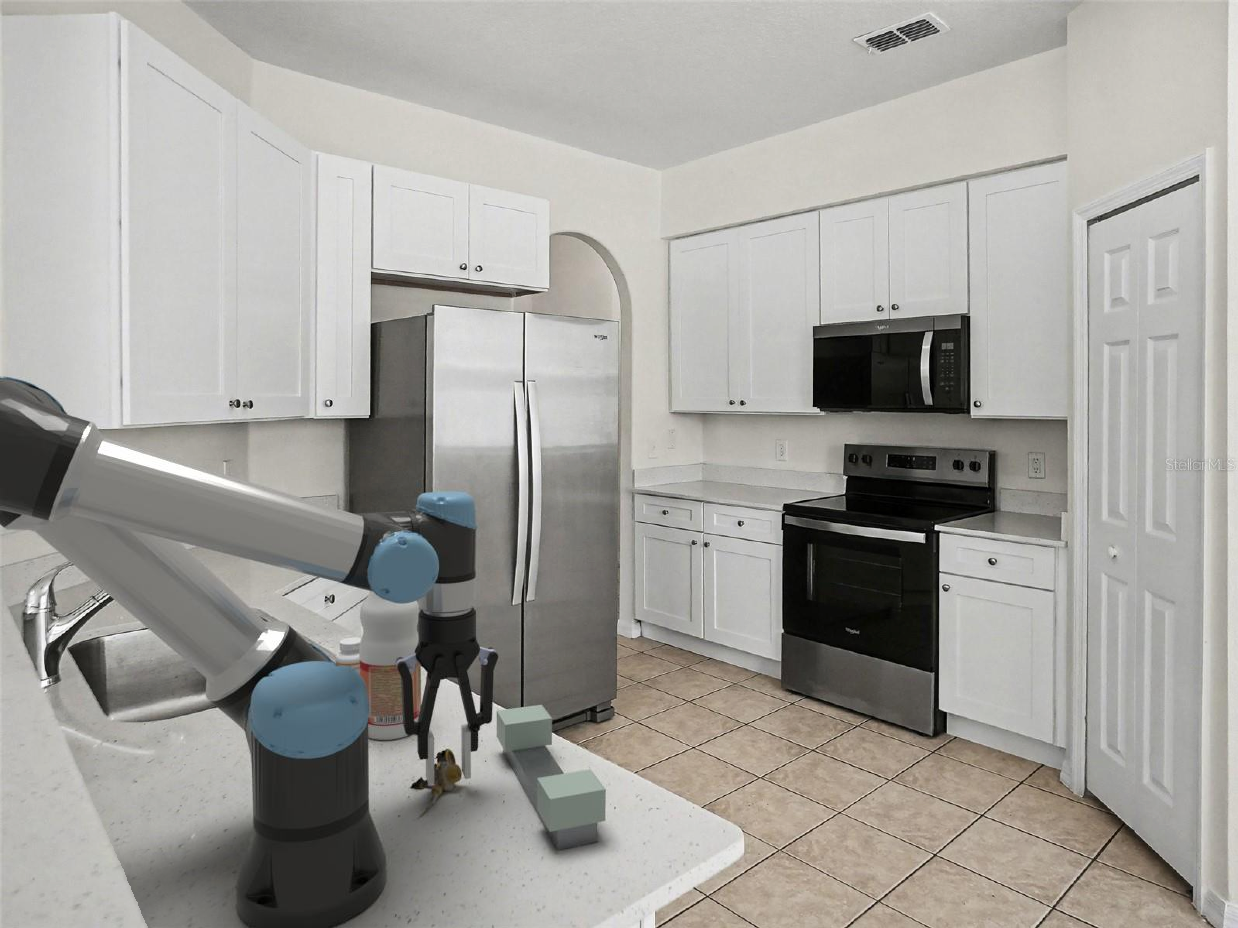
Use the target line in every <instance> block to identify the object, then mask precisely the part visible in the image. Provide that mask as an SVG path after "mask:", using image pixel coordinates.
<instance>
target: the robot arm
mask: <svg viewBox="0 0 1238 928" xmlns="http://www.w3.org/2000/svg"><path fill="white" fill-rule="evenodd" d="M475 504H476V503H475V499H474V498H473V496H472V495H471V494H469V493H467V492H463V491H452V490H451V491H450V490H447V491H446V490H441V491H440V490H439V491H438V490H436V491H431V492H424V493H421V494H420V495H418V497H417V501H416V505H415V509H414V508H413V509H409V510H403V511H402V510H401V511H386V512H363V513H361V512H360V513H352V512H348V511H346V510H344V509H343V510H342V509H339V508H336V507H332V506H329V505H327V504H323V503H320V502H317V501H313V500H310V499H306V498H304V497H300V496H297V495H293V494H289V493H287V492H284V491H280V490H276V489H274V488H270V487H267V486H264V485H260V484H257V483H254V482H250V481H248V480H244V479H241V478H237V477H234V476H231V475H228V474H225V473H221V472H218V471H215V470H212V469H208V468H205V467H202V466H198V465H195V464H191V463H188V462H185V461H182V460H179V459H175V458H173V457H169V456H165V455H162V454H160V453H159V454H158V453H156V452H152V451H149V450H146V449H143V448H140V447H136V446H133V445H129V444H127V443H124V442H120V441H117V440H113V439H110V438H108V437H107V438H106V437H105V436H103V435H102V432H100V430H99V428H98V426H97V425H96V423H94V422H92V421H89V420H85V419H83V418H79V417H76V416H73V415H70V414H68V412H67V411H65V409H64V407H63V405H62V404H61V402H60V401H59V400H58V399H57V398H56V397H55V396H53V395H52V394H51V393H50V392H49V391H47V390H45V389H43V388H40V387H38V386H37V385H36V384H34V383H31V382H28V381H25V380H23V379H19V378H14V377H9V376H2V375H1V376H0V526H1V527H3V528H4V529H5V530H7V531H9V530H11V531H22V530H23V531H31V532H35V534H37V535H38V536H39V537H41V538H42V539H43V540H44V541H45V542H46V543H47V544H49V546H51V547H52V548H53V549H55V550H56V551H57V552H58V553H59V554H61V556H62V557H64V558H65V559H67V561H68V562H70V563H71V564H72V565H73V566H75V567H76V568H77V569H78V570H79V571H81V573H83V574H84V575H85V576H86V577H87V578H89V580H91V581H92V582H93V583H94V584H95V585H96V586H98V587H99V588H100V589H101V590H103V591H104V592H105V593H106V594H107V595H108V596H110V597H111V598H112V599H113V600H114V601H115V602H116V603H118V604H119V605H120V606H121V607H122V608H124V610H125V611H127V612H129V614H131V616H133V617H134V618H135V619H136V620H138V621H139V622H140V623H141V624H142V625H143V626H145V627H146V628H147V629H148V630H149V631H151V632H152V633H153V634H154V635H155V636H156V637H157V638H158V639H160V640H161V641H162V642H163V643H164V644H166V645H167V646H168V647H170V648H171V649H172V650H173V651H174V652H175V653H176V654H177V655H179V656H180V657H181V658H182V659H184V661H186V662H187V663H188V664H189V665H190V666H192V667H193V669H195V670H196V671H197V672H199V674H201V675H202V676H204V678H205V680H206V681H205V698H206V699H207V700H208V701H210V703H212V704H213V706H215V707H216V708H217V709H219V710H220V711H221V712H222V713H224V714H225V715H226V716H227V717H228V718H230V720H232V721H233V722H234V723H235V724H237V725H238V727H240V728H241V729H242V730H243V731H244V733H245V738H246V741H247V746H248V750H249V753H250V762H251V777H252V778H251V779H252V780H251V785H252V813H253V814H252V819H253V820H252V823H253V825H252V827H253V829H252V830H253V831H252V834H251V837H250V840H249V843H248V846H247V849H246V852H245V855H244V859H243V862H242V865H241V867H240V872H239V874H238V877H237V881H236V886H235V887H236V891H235V892H236V911H237V914H238V915H239V917H240V919H241V920H242V921H243V922H244V923H245V924H246V925H247V926H249V927H251V926H252V927H251V928H253V927H255V928H331V927H334V926H336V925H339V924H341V923H344V922H345V921H347V920H350V919H352V918H353V917H355V916H357V915H358V914H360V913H361V912H364V910H365V909H367V908H368V907H369V906H371V905H372V904H373V903H374V902H375V901H376V899H378V897H379V896H380V895H381V894H382V892H383V890H384V888H385V885H386V882H387V855H386V853H385V849H384V845H383V844H382V842H381V838H380V836H379V834H378V831H377V829H376V828H377V827H376V826H375V825H376V824H375V823H374V820H373V817H372V814H371V813H370V798H369V797H370V787H369V785H370V781H369V778H370V776H369V775H370V773H369V772H370V770H369V766H370V765H369V764H370V763H369V737H368V718H369V714H370V708H369V707H370V705H369V699H368V696H367V688H366V684H365V682H364V680H363V678H362V677H361V676H360V674H359V673H358V672H356V671H355V670H353V669H352V668H350V667H348V666H345V665H342V666H338V665H337V663H336V662H334V661H333V660H332V659H331V658H330V656H329V655H328V654H327V653H326V652H325V651H324V650H322V649H321V648H320V647H317V646H316V645H314V644H313V643H309V642H308V641H307V640H306V639H305V638H304V637H302V636H301V635H300V634H299V633H298V632H297V631H296V630H295V629H294V628H293V627H292V626H291V625H289V623H287V622H286V621H284V620H277V621H266V620H264V619H263V618H262V617H261V616H260V615H258V613H256V612H255V611H254V609H252V608H251V607H250V606H249V605H248V604H247V603H246V602H245V601H244V600H242V598H240V597H239V596H238V594H236V593H235V592H234V591H233V590H231V589H230V587H229V586H227V584H225V583H224V582H223V581H222V580H221V579H220V578H219V577H217V576H216V575H215V573H213V572H212V571H211V570H210V569H209V567H207V566H206V565H205V564H204V563H202V561H201V560H199V559H198V558H197V557H196V556H195V555H194V554H193V553H192V552H191V551H190V550H189V549H188V548H186V547H185V546H184V545H183V544H186V545H191V546H195V547H199V548H202V549H206V550H209V551H213V552H218V553H221V554H226V555H229V556H233V557H238V558H241V559H245V560H250V561H254V562H258V563H261V564H266V565H269V566H273V567H278V568H281V569H286V570H290V571H294V572H297V573H302V574H306V575H308V576H309V575H310V576H313V577H317V578H322V579H326V580H329V581H333V582H337V583H339V584H343V585H346V586H349V587H353V588H357V589H361V590H365V591H369V592H370V591H372V592H374V593H375V594H376V595H378V596H379V597H380V598H382V599H385V600H388V601H390V602H393V603H399V604H405V603H411V602H414V601H416V600H417V602H418V607H419V611H420V612H419V613H418V623H417V626H418V629H417V632H418V645H417V647H416V649H415V653H414V654H412V655H410V656H408V657H406V658H403V657H399V658H397V659H396V665H397V668H398V671H399V673H400V675H401V690H402V713H403V726H404V730H405V733H406V734H407V735H408V736H411V735H414V736H417V739H416V741H417V749H416V750H417V751H416V752H417V755H418V758H419V760H420V761H422V760H425V779H426V780H427V782H428V785H427V786H432V785H433V786H434V764H435V736H434V733H433V730H432V728H430V727H431V723H432V717H433V713H434V709H435V704H436V699H437V694H438V691H439V688H440V685H441V684H440V683H441V681H442V680H445V679H448V678H450V679H451V678H452V679H457V683H458V689H459V692H460V696H461V701H462V705H463V709H464V713H465V718H466V722H467V723H465V724H463V723H462V724H460V725H461V735H460V736H461V772H462V775H463V778H464V779H465V780H467V779H469V780H470V779H471V778H472V769H471V768H472V762H471V761H472V758H471V757H472V754H471V753H472V752H477V751H478V749H479V731H480V730H481V726H483V725H487V724H489V725H490V723H491V722H492V721H493V704H494V703H493V701H494V672H495V667H496V665H497V662H498V659H499V654H498V653H497V651H496V650H495V648H493V647H490V646H489V647H488V648H486V647H483V646H480V644H479V643H478V640H477V611H476V609H475V608H474V607H475V606H476V605H477V576H476V575H477V573H476V572H477V570H476V559H477V558H476V557H477V555H476V554H477V530H478V526H477V514H476V513H477V511H476V505H475ZM182 543H183V544H182ZM477 657H478V661H479V663H480V686H479V687H480V689H479V690H480V691H479V693H480V694H479V695H480V696H479V712H477V711H476V705H475V702H474V697H473V692H472V688H471V684H470V683H471V682H470V679H469V674H468V670H469V669H470V667H471V666H472V664H473V663H474V661H475V660H476V659H477ZM417 662H419V663H420V664H421V668H423V669H424V670H425V672H426V675H425V676H426V678H425V679H426V680H425V684H424V685H425V686H424V690H423V696H422V698H421V709H420V713H419V718H418V722H414V705H413V682H412V676H411V674H412V673H413V672H414V671H415V664H416V663H417Z"/></svg>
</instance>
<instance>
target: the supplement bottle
mask: <svg viewBox="0 0 1238 928" xmlns="http://www.w3.org/2000/svg"><path fill="white" fill-rule="evenodd" d="M361 638H362V637H356V636H355V637H347V638H342V639H341V640H340V641H339V652H338V653H337V654H336V656H335V663H337V665H338V666H342V665H345V666H348V667H350V668H352V669H353V670H355V671H356V672H358V673H359V674H360V659H359V652H360V641H361Z"/></svg>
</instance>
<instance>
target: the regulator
mask: <svg viewBox="0 0 1238 928" xmlns="http://www.w3.org/2000/svg"><path fill="white" fill-rule="evenodd" d="M434 760H436V763H434V784H433V786H432V787H431V795H432V797H431V799H430V801H429V804H428V805H427V807H426V809H425V810H424V811H423V812H422V813H421V814H420V816H419V817H417V818H416V820H418V819H420V818H422V817H423V816H424V815H426V813H428V812H429V811H430V809H431V806H433V805H434V804H435V802H436V801H437V798H438V797H439V796H440V795H441V794H442V792H443V791H446V792H450V791H452V790H453V789H454V787H455V784H456V783H458V782H460V780H461V779H462V775H463V772H462V767H460V765H458V764H457V761H456V757H455V754H454V753H453V750H451V749H449V748H446V749H444V750H441V751H439V752H437V753H436V756H435V757H434ZM426 786H429V785H428V782H427V779H426V780H424V778H423V777H422V776H420V777H419V778H418V779H417V780H416V781H415V782H413V783H412V784H411V786H410V788H419V789H420V790H423V789H424V788H425V787H426Z"/></svg>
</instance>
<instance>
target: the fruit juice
mask: <svg viewBox="0 0 1238 928" xmlns="http://www.w3.org/2000/svg"><path fill="white" fill-rule="evenodd" d="M362 602H363V603H362V604H361V606H360V609H359V610H360V611H359V618H360V619H359V621H360V623H361V627H362V630H363V631H362V633H363V634H362V635H361V637H360V638H361V641H360V652H359V659H360V676H361V677H362V678H363V680H364V682H365V684H366V688H367V696H368V699H369V705H370V707H369V708H370V714H369V718H368V739H372V740H379V741H381V740H382V741H388V740H389V741H391V740H392V741H393V740H397V739H401V738H402V739H403V738H406V737H408V736H409V735H407V734H406V733H405V730H404V726H403V713H402V690H401V675H400V673H399V671H398V668H397V665H396V659H397V658H399V657H403V658H406V657H408V656H410V655H412V654H414V653H415V649H416V647H417V645H418V629H417V626H418V613H419V612H420V611H421V610H420V608H419V607H418V600H416V601H414V602H411V603H405V604H399V603H393V602H390V601H388V600H385V599H382V598H380V597H379V596H378V595H376V594H375V593H374V592H372V591H369V593H368V595H367V597H366V598H365V599H364V601H362ZM421 673H422V666H421V664H420V663H419V662H417V663H416V664H415V671H414V672H413V673H412V674H411V676H412V682H413V705H414V722H418V718H419V713H420V709H421V704H422V674H421Z"/></svg>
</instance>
